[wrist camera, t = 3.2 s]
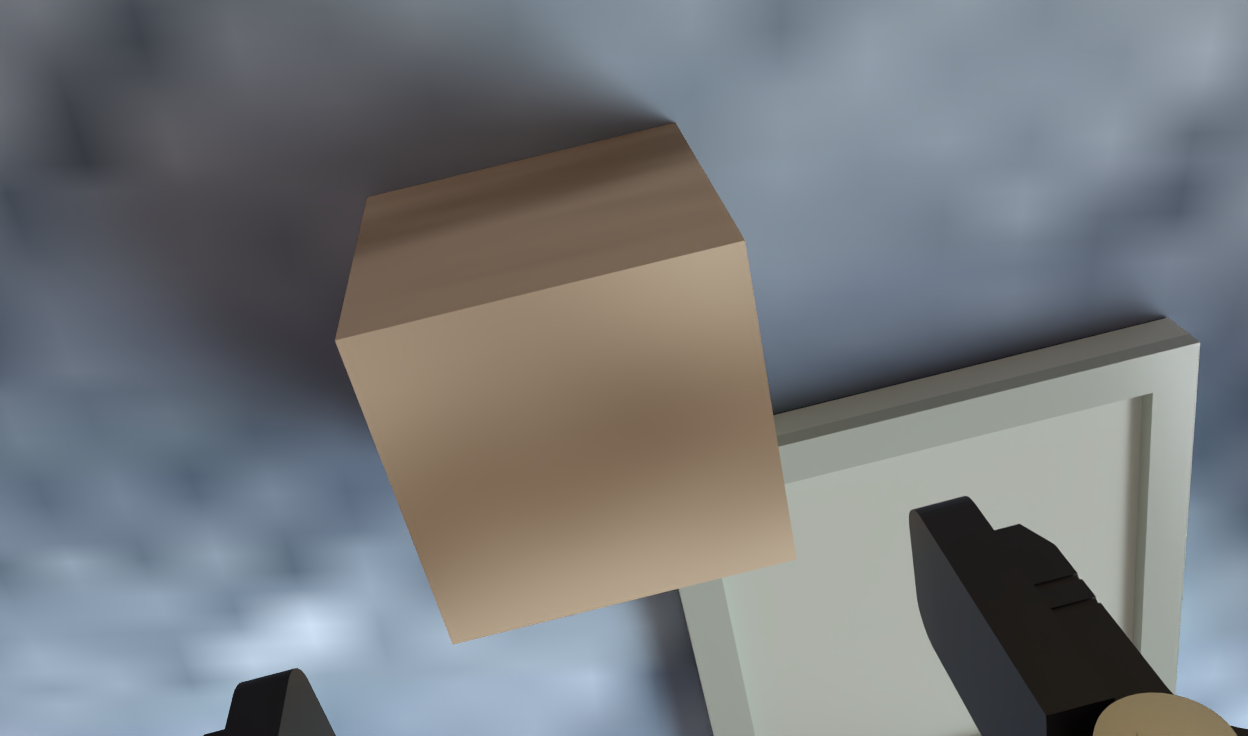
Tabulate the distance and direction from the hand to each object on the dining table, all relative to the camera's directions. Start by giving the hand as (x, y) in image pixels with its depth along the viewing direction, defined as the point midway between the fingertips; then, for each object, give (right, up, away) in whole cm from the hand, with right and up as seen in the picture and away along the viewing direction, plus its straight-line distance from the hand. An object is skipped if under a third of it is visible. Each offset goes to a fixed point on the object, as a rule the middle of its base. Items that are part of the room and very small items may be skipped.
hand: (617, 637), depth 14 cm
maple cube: (-1, +5, +8) cm, 10 cm away
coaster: (+8, -2, +13) cm, 15 cm away
